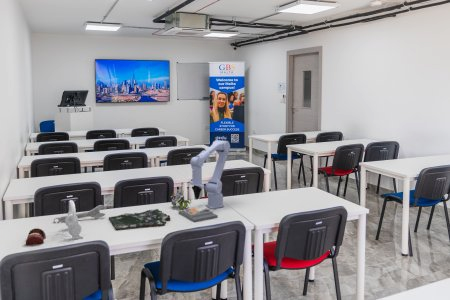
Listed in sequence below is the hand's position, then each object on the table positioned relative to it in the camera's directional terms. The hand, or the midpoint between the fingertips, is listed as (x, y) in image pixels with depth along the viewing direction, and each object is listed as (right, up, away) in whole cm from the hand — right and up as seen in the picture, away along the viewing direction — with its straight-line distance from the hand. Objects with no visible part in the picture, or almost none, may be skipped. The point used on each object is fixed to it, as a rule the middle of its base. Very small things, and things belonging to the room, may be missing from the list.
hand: (197, 197), depth 256 cm
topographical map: (-31, -13, -16) cm, 37 cm away
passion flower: (-12, -8, +12) cm, 18 cm away
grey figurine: (-63, -15, -37) cm, 75 cm away
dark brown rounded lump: (-78, -17, -48) cm, 93 cm away
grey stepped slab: (+1, -10, -5) cm, 12 cm away
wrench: (-67, -12, -15) cm, 70 cm away
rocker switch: (+1, -8, -6) cm, 9 cm away
